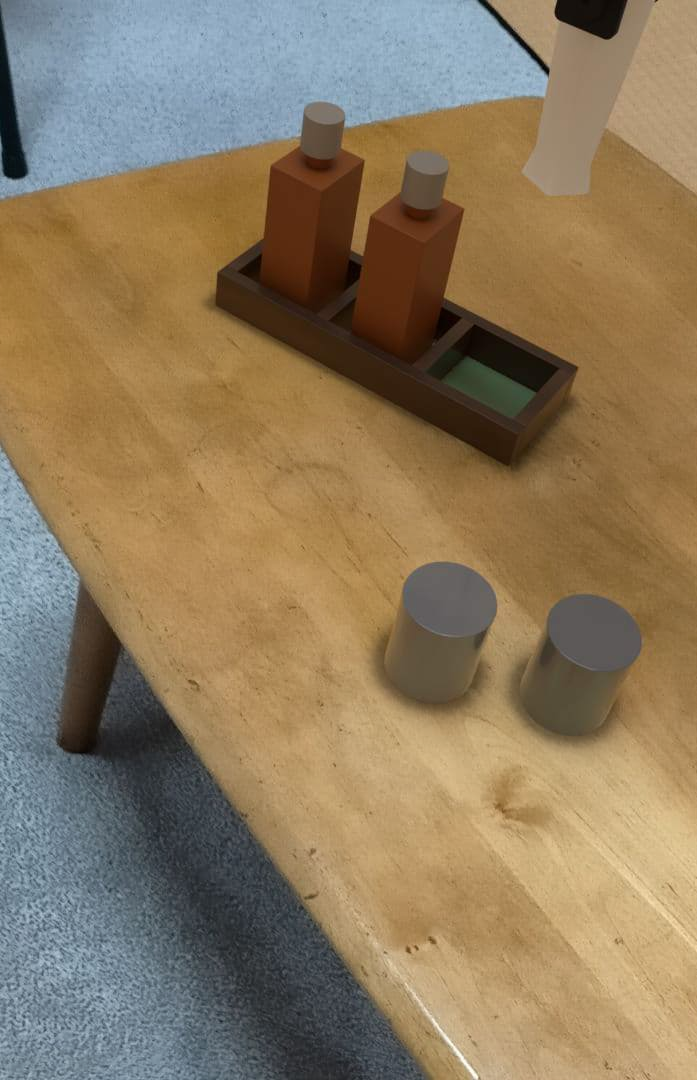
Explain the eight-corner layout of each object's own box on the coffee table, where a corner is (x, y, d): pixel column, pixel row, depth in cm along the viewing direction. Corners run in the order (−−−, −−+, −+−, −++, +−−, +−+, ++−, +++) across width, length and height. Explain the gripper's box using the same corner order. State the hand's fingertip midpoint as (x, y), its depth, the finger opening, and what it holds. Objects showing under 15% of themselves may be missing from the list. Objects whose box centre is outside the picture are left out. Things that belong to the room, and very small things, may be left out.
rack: (285, 261, 92) (290, 218, 89) (564, 408, 85) (579, 367, 83) (214, 315, 87) (216, 271, 84) (505, 476, 80) (518, 434, 77)
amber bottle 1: (342, 301, 89) (373, 110, 78) (302, 334, 86) (328, 140, 75) (297, 277, 90) (321, 85, 79) (256, 309, 87) (275, 114, 76)
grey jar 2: (618, 700, 70) (657, 626, 64) (579, 761, 67) (617, 688, 61) (541, 654, 71) (573, 578, 66) (499, 712, 68) (530, 636, 63)
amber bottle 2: (432, 348, 87) (476, 159, 75) (394, 384, 84) (435, 192, 72) (384, 323, 88) (421, 133, 77) (345, 357, 85) (378, 165, 74)
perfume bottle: (506, 185, 67) (579, -103, 56) (527, 147, 70) (601, -135, 58) (587, 212, 66) (678, -75, 55) (605, 172, 69) (695, -108, 58)
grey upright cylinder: (486, 670, 70) (514, 593, 65) (441, 729, 67) (467, 653, 62) (411, 624, 71) (433, 546, 66) (364, 681, 68) (383, 603, 63)
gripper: (757, -401, 41) (602, 103, 55) (898, -452, 51) (738, -17, 65) (559, -459, 43) (457, 40, 57) (733, -497, 53) (611, -66, 67)
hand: (608, 5), depth 61 cm, fingers closed on perfume bottle, 4 cm apart
